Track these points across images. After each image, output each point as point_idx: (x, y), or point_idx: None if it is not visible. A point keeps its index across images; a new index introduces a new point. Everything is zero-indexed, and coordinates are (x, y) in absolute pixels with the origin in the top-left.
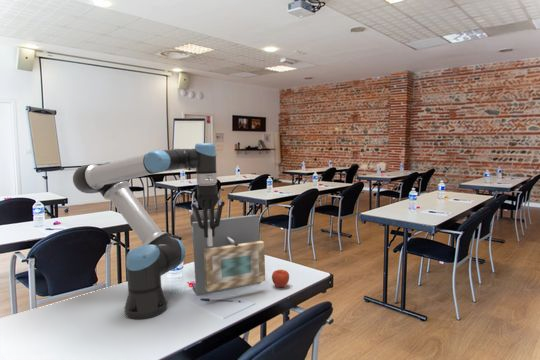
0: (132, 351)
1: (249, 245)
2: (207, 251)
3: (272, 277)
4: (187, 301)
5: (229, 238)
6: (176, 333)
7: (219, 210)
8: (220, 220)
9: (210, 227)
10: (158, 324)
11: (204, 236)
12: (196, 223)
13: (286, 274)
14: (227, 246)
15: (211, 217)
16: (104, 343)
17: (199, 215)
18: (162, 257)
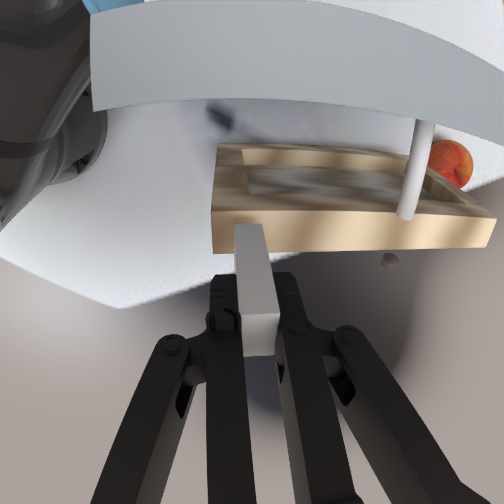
0: (68, 281)
1: (438, 245)
2: (223, 250)
3: (435, 161)
4: (165, 108)
5: (421, 157)
6: (130, 260)
7: (389, 486)
8: (493, 141)
9: (278, 333)
10: (91, 212)
11: (213, 282)
12: (147, 103)
13: (459, 188)
14: (355, 227)
15: (291, 450)
16: (22, 242)
17: (161, 484)
18: (12, 173)
